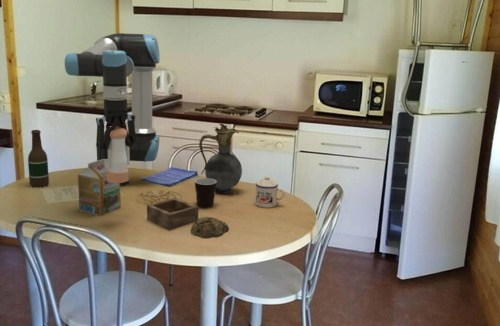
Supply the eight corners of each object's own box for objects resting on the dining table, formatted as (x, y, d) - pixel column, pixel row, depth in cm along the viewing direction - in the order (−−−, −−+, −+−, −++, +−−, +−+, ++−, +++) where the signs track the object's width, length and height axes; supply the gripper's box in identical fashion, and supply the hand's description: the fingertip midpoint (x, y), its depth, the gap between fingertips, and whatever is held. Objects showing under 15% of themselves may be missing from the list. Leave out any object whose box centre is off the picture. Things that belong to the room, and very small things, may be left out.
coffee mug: (212, 210, 186) (213, 185, 184) (191, 207, 188) (191, 183, 185) (220, 200, 197) (221, 177, 195) (200, 198, 199) (200, 175, 196)
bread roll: (201, 222, 174) (201, 209, 173) (232, 228, 170) (232, 215, 169) (183, 234, 163) (183, 220, 161) (216, 241, 158) (216, 227, 157)
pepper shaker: (131, 181, 164) (130, 126, 159) (110, 184, 160) (109, 127, 155) (124, 175, 170) (123, 122, 165) (103, 178, 166) (101, 123, 161)
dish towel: (199, 176, 232) (199, 170, 231) (169, 188, 212) (169, 182, 211) (170, 170, 240) (170, 165, 239) (139, 181, 219) (139, 175, 219)
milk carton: (99, 202, 189) (97, 155, 184) (120, 207, 184) (119, 159, 180) (79, 210, 180) (77, 161, 175) (101, 216, 175) (99, 165, 170)
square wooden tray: (147, 219, 174) (146, 205, 172) (175, 211, 183) (175, 197, 182) (169, 230, 165) (169, 215, 164) (198, 221, 175) (198, 206, 173)
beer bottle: (36, 182, 210) (32, 128, 204) (52, 183, 210) (49, 129, 203) (25, 187, 203) (21, 131, 197) (43, 188, 202) (39, 132, 196)
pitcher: (237, 197, 202) (239, 127, 195) (194, 192, 207) (195, 123, 199) (243, 189, 213) (246, 123, 205) (202, 185, 217) (204, 119, 209)
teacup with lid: (252, 206, 192) (253, 178, 189) (257, 199, 201) (258, 172, 198) (281, 210, 190) (283, 182, 187) (285, 203, 198) (287, 175, 195)
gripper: (94, 102, 148) (97, 173, 154) (146, 98, 163) (147, 163, 169) (82, 99, 153) (85, 168, 159) (134, 95, 167) (135, 159, 173)
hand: (117, 165), depth 164 cm, fingers closed on pepper shaker, 7 cm apart
